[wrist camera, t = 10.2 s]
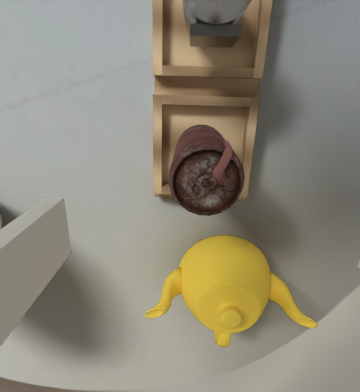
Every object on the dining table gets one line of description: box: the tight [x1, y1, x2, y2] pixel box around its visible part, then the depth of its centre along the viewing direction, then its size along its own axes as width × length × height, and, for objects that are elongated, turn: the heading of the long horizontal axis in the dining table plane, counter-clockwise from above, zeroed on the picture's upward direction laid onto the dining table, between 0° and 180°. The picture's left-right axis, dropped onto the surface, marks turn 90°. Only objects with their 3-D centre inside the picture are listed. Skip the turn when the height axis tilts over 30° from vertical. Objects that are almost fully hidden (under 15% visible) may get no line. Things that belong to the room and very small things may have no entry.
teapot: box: [145, 235, 318, 347], centre depth 36 cm, size 20×15×12 cm
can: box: [168, 125, 245, 216], centre depth 27 cm, size 6×6×14 cm
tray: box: [153, 0, 273, 201], centre depth 31 cm, size 28×12×3 cm, turn 178°
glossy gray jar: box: [183, 0, 252, 48], centre depth 24 cm, size 6×6×10 cm
